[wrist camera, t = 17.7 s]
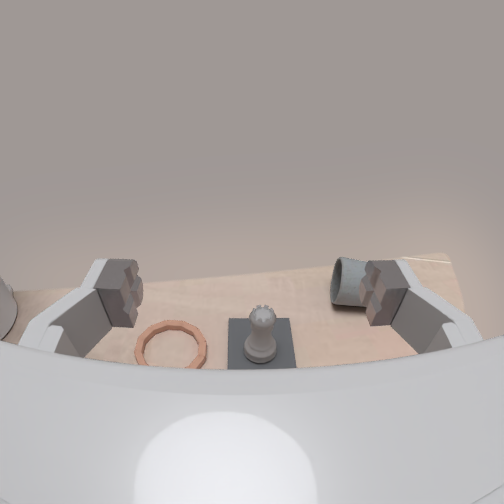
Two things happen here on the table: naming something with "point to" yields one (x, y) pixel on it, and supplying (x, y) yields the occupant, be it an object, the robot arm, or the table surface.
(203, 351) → the terracotta ring
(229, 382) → the robot arm
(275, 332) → the charcoal mat
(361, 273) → the ceramic mug
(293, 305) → the table surface
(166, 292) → the table surface
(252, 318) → the rook chess piece
